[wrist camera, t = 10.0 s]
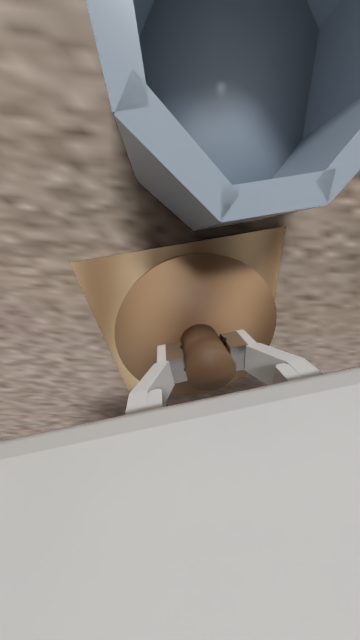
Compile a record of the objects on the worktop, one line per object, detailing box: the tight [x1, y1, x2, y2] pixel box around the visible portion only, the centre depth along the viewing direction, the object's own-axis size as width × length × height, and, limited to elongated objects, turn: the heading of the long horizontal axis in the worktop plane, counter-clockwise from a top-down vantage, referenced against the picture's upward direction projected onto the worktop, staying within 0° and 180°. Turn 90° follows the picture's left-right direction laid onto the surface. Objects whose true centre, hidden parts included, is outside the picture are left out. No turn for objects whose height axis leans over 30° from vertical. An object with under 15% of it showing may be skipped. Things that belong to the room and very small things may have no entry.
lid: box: [115, 253, 276, 395], centre depth 10 cm, size 11×11×4 cm
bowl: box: [86, 0, 360, 231], centre depth 6 cm, size 10×10×5 cm
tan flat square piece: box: [70, 226, 286, 391], centre depth 13 cm, size 14×12×1 cm
